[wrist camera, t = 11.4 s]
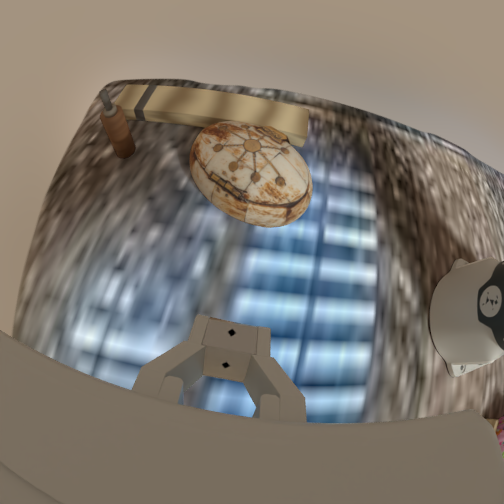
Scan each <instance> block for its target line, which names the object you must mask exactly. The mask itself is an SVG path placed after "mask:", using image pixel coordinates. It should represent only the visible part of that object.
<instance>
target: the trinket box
mask: <svg viewBox="0 0 504 504" xmlns="http://www.w3.org/2000/svg"><path fill="white" fill-rule="evenodd" d="M190 170H191V174H192V177H193V180H194V182H195V183H196V185H197V187H198V188H199V189H200V191H201V192H202V193H203V195H204V196H205V197H206V198H207V199H208V200H209V201H210V202H211V203H212V204H213V205H215V206H216V207H217V208H218V209H220V210H222V211H223V212H225V213H226V214H228V215H230V216H232V217H234V218H236V219H238V220H240V221H243V222H246V223H249V224H252V225H257V226H261V227H268V228H271V227H280V226H285V225H288V224H290V223H292V222H294V221H295V220H297V219H298V218H299V217H300V216H301V215H302V214H303V213H304V212H305V210H306V209H307V207H308V205H309V203H310V200H311V196H312V179H311V174H310V171H309V169H308V166H307V164H306V163H305V161H304V159H303V158H302V157H301V155H300V154H299V153H298V152H297V151H296V150H295V149H294V148H293V147H292V146H291V145H290V141H289V138H288V137H287V135H285V134H284V133H282V132H280V131H279V130H277V129H275V128H273V127H272V126H264V127H260V126H257V125H254V124H250V123H246V122H239V121H225V122H219V123H215V124H212V125H210V126H208V127H206V128H205V129H203V130H202V131H201V132H200V134H199V135H198V136H197V138H196V140H195V141H194V143H193V145H192V148H191V152H190Z"/></svg>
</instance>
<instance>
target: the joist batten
mask: <svg viewBox="0 0 504 504" xmlns="http://www.w3.org/2000/svg"><path fill="white" fill-rule="evenodd" d="M114 104H115V105H119V106H121V107H122V110H123V113H124V116H125V118H126V120H141V121H154V122H164V123H173V124H182V125H190V126H197V127H204V128H206V127H208V126H210V125H212V124H215V123H219V122H225V121H239V122H246V123H250V124H254V125H257V126H260V127H264V126H272V127H273V128H275V129H277V130H279V131H280V132H282V133H284V134H285V135H287V137H288V138H289V141H290V144H291V145H295V146H299V147H303V145H304V143H305V140H306V138H307V131H308V119H309V110H308V109H305V108H301V107H297V106H293V105H289V104H284V103H280V102H276V101H271V100H266V99H261V98H256V97H251V96H245V95H240V94H234V93H227V92H220V91H213V90H205V89H196V88H186V87H174V86H157V85H126V87H125V88H124V90H123V91H122V92H121V94H120V95H119V97H118V98H117V100H116V101H115V103H114Z"/></svg>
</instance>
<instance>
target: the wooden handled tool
mask: <svg viewBox="0 0 504 504" xmlns="http://www.w3.org/2000/svg"><path fill="white" fill-rule="evenodd" d="M99 93H100V96H101V99H102V101H103V104H104V106H105V107H104V109H103V111H102V113H101V115H100V119H101V121H102V124H103V126H104V128H105V130H106V133H107V135H108V137H109V139H110V141H111V143H112V146H113V148H114V150H115V152H116V154H117V156H118V157H119V158H127V157H129V156H131V155H132V154H133V153H134V152H135V149H136V147H135V144H134V141H133V138H132V135H131V133H130V130H129V127H128V124H127V121H126V118H125V116H124V113H123V110H122V107H121V106H119V105H115V104H111V101H110V98H109V96H108V93H107V90H106V89H103V90H101V91H100V92H99Z"/></svg>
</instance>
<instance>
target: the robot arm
mask: <svg viewBox="0 0 504 504" xmlns="http://www.w3.org/2000/svg"><path fill="white" fill-rule="evenodd" d="M430 329H431V334H432V338H433V342H434V344H435V347H436V349H437V351H438V352H439V354H440V355H441V356H442V357H443V359H444V360H445V361H446V363H447V367H448V371H449V374H450V376H451V377H458V376H461V375H463V374H465V373H468V372H470V371H472V370H475V369H477V368H479V367H481V366H483V365H486V364H489V363H493V361H494V360H496V359H498V358H499V357H501V356H502V355H504V261H502V262H499V261H498V260H496V259H494V258H493V257H488V258H485V259H482V260H479V261H475V262H472V263H468V262H467V261H465V260H464V259H457V260H455V262H454V264H453V266H452V268H451V271H450V272H449V273H448V274H446V275H445V276H444V277H443V278H442V279H441V280H440V281H439V283H438V284H437V286H436V288H435V291H434V293H433V297H432V301H431V306H430ZM270 341H271V329H270V328H267V327H260V326H258V327H257V326H253V325H247V324H241V323H235V322H230V321H226V320H221V319H217V318H212V317H207V316H203V315H199V314H198V315H197V316H196V318H195V321H194V324H193V327H192V330H191V333H190V336H189V339H188V342H187V341H183V342H182V343H180V344H178V345H177V346H175V347H173V348H172V349H170V350H169V351H167V352H165V353H164V354H162V355H161V356H159V357H157V358H156V359H154V360H152V361H151V362H149V363H147V364H146V365H144V366H142V367H141V370H140V372H139V374H138V376H137V379H136V381H135V383H134V386H133V388H132V390H129V389H126V388H123V387H120V386H117V385H114V384H111V383H108V382H106V381H103V380H100V379H98V378H95V377H93V376H90V375H88V374H85V373H83V372H80V371H78V370H76V369H73V368H71V367H69V366H67V365H64V364H62V363H60V362H58V361H56V360H54V359H52V358H50V357H48V356H46V355H44V354H42V353H40V352H38V351H36V350H34V349H32V348H30V347H28V346H27V345H25V344H23V343H21V342H19V341H18V340H16V339H14V338H12V337H11V336H9V335H7V334H6V333H4V332H2V331H1V330H0V504H504V459H503V455H502V452H501V448H500V445H499V441H498V438H497V435H496V433H495V431H494V428H493V427H492V425H491V424H490V423H489V422H488V421H487V420H486V419H485V418H484V417H482V416H481V415H480V414H479V413H478V412H476V411H475V410H472V409H469V410H463V411H459V412H454V413H449V414H443V415H438V416H432V417H425V418H418V419H409V420H400V421H389V422H374V423H307V421H306V406H305V397H304V396H303V394H302V393H301V392H300V391H299V389H298V388H297V387H296V386H295V384H294V383H293V382H292V381H291V379H290V378H289V377H288V375H287V374H286V373H285V372H284V370H283V369H282V368H281V366H280V365H279V364H278V363H277V361H276V360H275V359H274V358H272V357H270ZM202 375H206V376H211V377H217V378H223V379H228V380H233V381H238V382H243V383H244V385H245V387H246V389H247V391H248V393H249V395H250V397H251V398H252V400H253V402H254V404H255V406H256V410H255V412H254V414H253V417H252V418H251V417H244V416H237V415H231V414H225V413H219V412H214V411H209V410H204V409H199V408H194V407H190V406H186V405H183V393H184V392H185V391H186V390H187V389H188V388H190V387H191V386H192V385H193V384H194V383H195V382H196V381H197V380H199V379H200V378H201V377H202Z"/></svg>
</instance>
